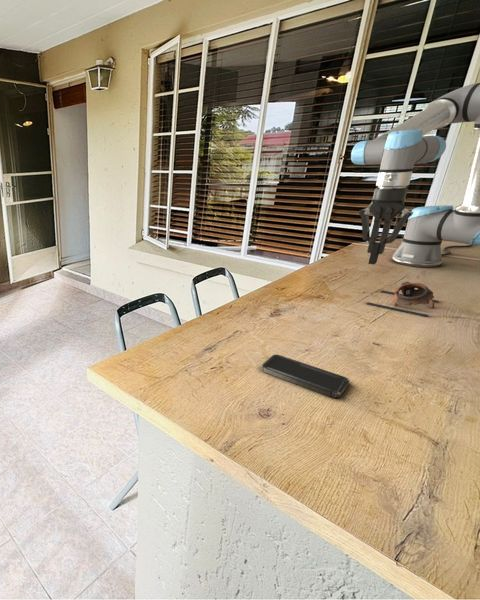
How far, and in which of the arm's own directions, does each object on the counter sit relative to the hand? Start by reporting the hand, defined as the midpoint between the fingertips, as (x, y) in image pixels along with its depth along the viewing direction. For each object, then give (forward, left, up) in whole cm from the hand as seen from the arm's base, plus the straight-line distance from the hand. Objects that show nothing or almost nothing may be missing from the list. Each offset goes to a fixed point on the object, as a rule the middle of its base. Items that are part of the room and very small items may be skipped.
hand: (372, 263), depth 113 cm
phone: (+64, +6, -11) cm, 66 cm away
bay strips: (0, +10, -11) cm, 15 cm away
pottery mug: (+1, +12, -11) cm, 16 cm away
